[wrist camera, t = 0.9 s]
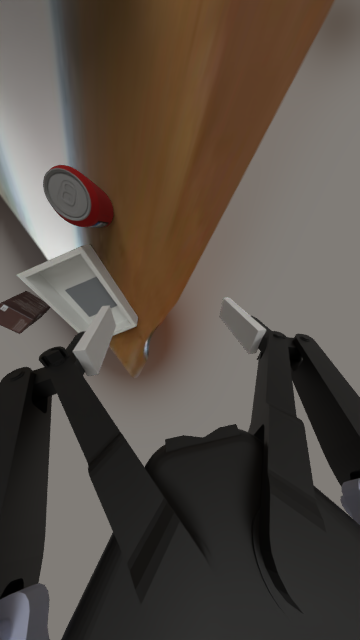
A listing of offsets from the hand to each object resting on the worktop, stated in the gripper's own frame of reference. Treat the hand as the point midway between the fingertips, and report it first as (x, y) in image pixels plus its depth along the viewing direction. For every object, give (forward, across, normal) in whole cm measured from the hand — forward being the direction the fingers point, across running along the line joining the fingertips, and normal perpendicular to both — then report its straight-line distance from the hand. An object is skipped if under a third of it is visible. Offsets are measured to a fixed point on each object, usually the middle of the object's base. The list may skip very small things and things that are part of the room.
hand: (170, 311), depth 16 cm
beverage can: (+25, -12, +12) cm, 30 cm away
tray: (+25, -19, -8) cm, 32 cm away
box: (+25, -34, -9) cm, 44 cm away
